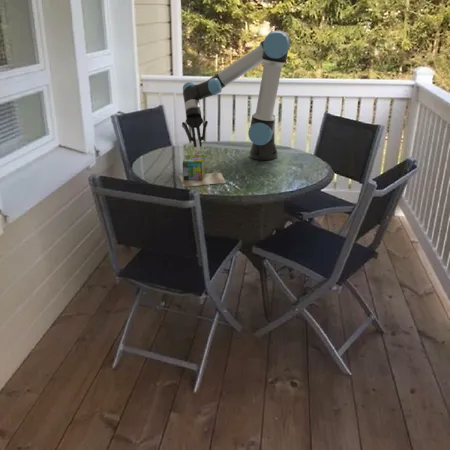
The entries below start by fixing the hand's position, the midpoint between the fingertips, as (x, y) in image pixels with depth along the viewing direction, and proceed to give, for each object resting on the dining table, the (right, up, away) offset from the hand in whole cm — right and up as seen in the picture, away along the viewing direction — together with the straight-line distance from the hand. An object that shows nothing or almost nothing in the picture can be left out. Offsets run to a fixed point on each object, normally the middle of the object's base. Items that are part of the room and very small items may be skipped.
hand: (198, 152), depth 244 cm
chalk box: (-2, -5, +3) cm, 6 cm away
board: (+2, -14, -4) cm, 15 cm away
